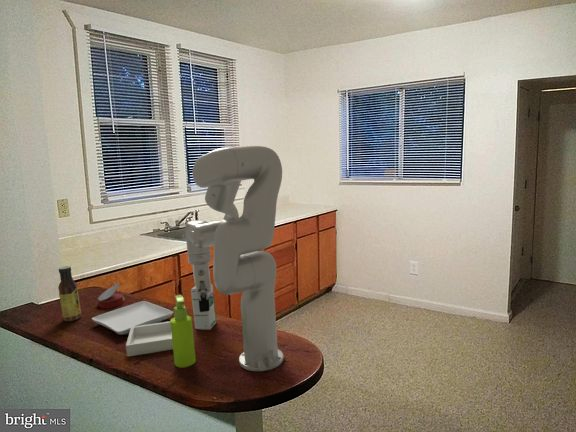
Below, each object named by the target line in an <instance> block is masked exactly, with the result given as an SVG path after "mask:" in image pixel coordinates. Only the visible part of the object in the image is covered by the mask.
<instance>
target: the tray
mask: <svg viewBox="0 0 576 432" xmlns="http://www.w3.org/2000/svg"><path fill="white" fill-rule="evenodd" d="M125 350H126V351H125V352H126V356H127V357H133V356H139V355H146V354H153V353H159V352H165V351H171V350H172V351H173V343H172V334H171V324H170V321H163V322H162V321H161V322H158V323H155V324H148V325H141V326H134V327H131V329H130V333H129V334H128V337H127V341H126V342H125Z"/></svg>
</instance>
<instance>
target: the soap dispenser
mask: <svg viewBox="0 0 576 432" xmlns="http://www.w3.org/2000/svg"><path fill="white" fill-rule="evenodd" d="M174 299H175V306H174V307H173V316H174V317H171V319H170V324H171V334H172V343H173V349H172V352H173V360H174V366H175V367H177V368H188V367H190V366H192V365H194V364H195V363H196V360H197V359H196V351H195V349H196V348H195V337H194V331H193V330H194V329H193V319H192V316H190V315H188V313H187V306H186V305H184V304H183V303H185V298H184V297H183V295H182V294H177V295H176V294H175V295H174Z"/></svg>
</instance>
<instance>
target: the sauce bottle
mask: <svg viewBox="0 0 576 432" xmlns="http://www.w3.org/2000/svg"><path fill="white" fill-rule="evenodd" d="M58 273H59V277H60V281H59V282H60V283H59V284H58V293H59V294H58V295H59V296H58V297H59V303H60V309H61V313H62V318H63V321H65V322H68V323H69V322H74V321H77V320H80V318H81V317H82V309H81V303H80V302H81V301H80V295H79V290H78V286H77V283H76V282H75V281H74V278H73V276H72V267H71V266H62V267H59V268H58Z"/></svg>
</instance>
